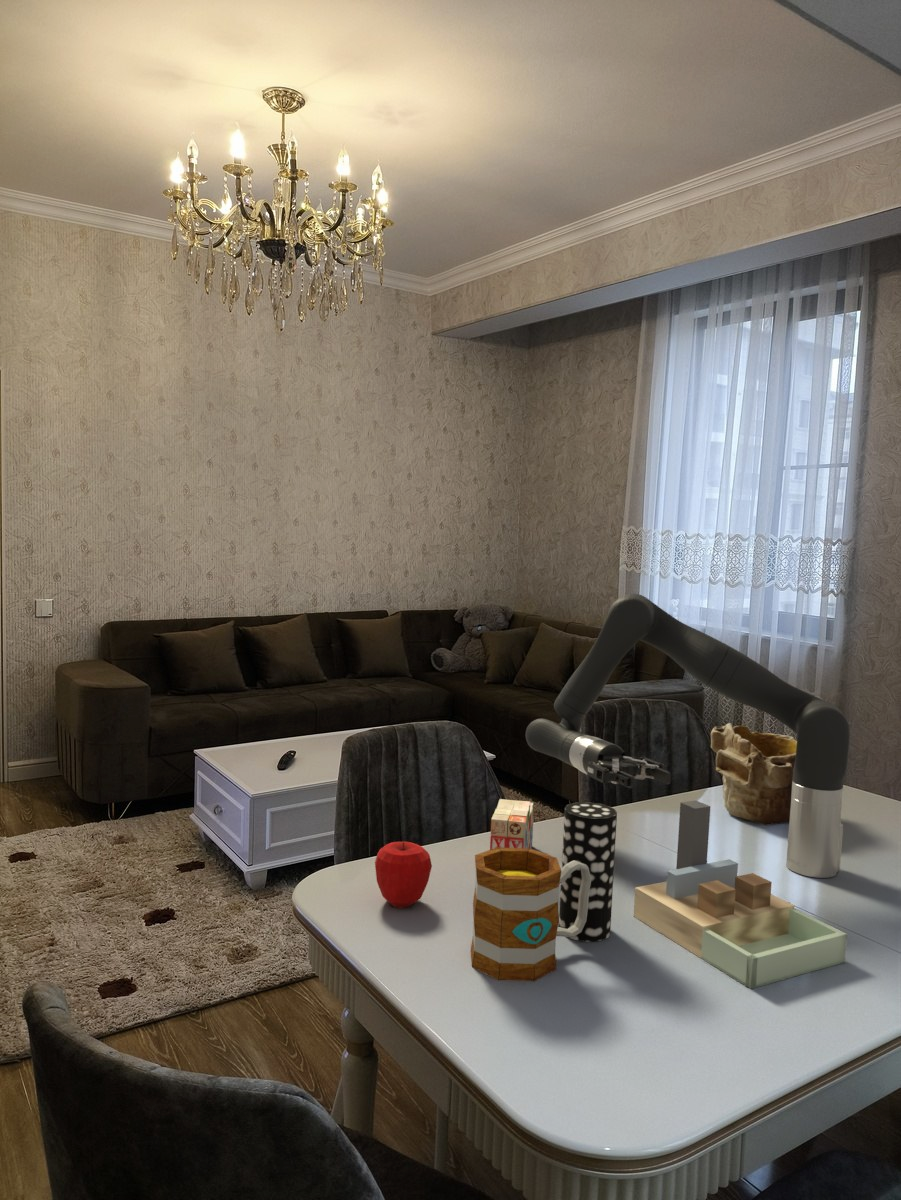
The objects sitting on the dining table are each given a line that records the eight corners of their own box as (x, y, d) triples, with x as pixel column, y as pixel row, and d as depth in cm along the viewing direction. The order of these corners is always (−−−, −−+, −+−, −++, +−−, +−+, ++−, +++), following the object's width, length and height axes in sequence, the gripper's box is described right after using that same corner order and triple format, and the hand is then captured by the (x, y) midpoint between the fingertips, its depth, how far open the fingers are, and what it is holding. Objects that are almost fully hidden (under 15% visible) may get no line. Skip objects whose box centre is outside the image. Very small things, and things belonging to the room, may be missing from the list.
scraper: (713, 874, 158) (718, 797, 156) (736, 885, 153) (741, 806, 152) (651, 886, 151) (656, 806, 150) (674, 899, 146) (679, 815, 145)
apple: (440, 908, 151) (442, 846, 150) (390, 919, 146) (392, 855, 145) (412, 887, 159) (414, 828, 158) (364, 897, 154) (366, 836, 153)
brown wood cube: (751, 896, 149) (752, 873, 148) (769, 905, 145) (771, 881, 145) (733, 900, 147) (735, 876, 146) (752, 909, 143) (753, 885, 143)
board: (720, 897, 160) (722, 870, 160) (792, 934, 146) (794, 905, 146) (633, 916, 151) (635, 887, 150) (700, 958, 137) (703, 926, 136)
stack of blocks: (502, 843, 183) (504, 785, 182) (532, 846, 182) (535, 788, 181) (488, 883, 162) (490, 817, 161) (522, 887, 161) (525, 821, 160)
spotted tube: (598, 947, 139) (605, 822, 137) (550, 932, 143) (556, 811, 142) (617, 927, 146) (624, 808, 144) (571, 914, 150) (577, 799, 149)
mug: (492, 989, 125) (496, 886, 124) (453, 946, 137) (457, 852, 136) (610, 966, 133) (615, 869, 132) (563, 928, 145) (568, 838, 144)
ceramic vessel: (864, 795, 199) (810, 710, 194) (784, 864, 196) (726, 780, 191) (802, 766, 221) (752, 689, 216) (729, 828, 218) (676, 752, 213)
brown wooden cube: (715, 904, 145) (717, 880, 144) (734, 914, 141) (735, 889, 141) (697, 908, 143) (698, 884, 143) (715, 918, 139) (716, 893, 139)
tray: (792, 934, 146) (794, 908, 146) (844, 962, 137) (846, 933, 137) (700, 958, 137) (702, 929, 136) (750, 989, 128) (752, 958, 127)
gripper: (568, 741, 172) (621, 763, 158) (626, 736, 179) (682, 757, 164) (565, 779, 173) (618, 804, 158) (624, 773, 179) (679, 797, 165)
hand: (651, 780), depth 161 cm, fingers open, 8 cm apart
